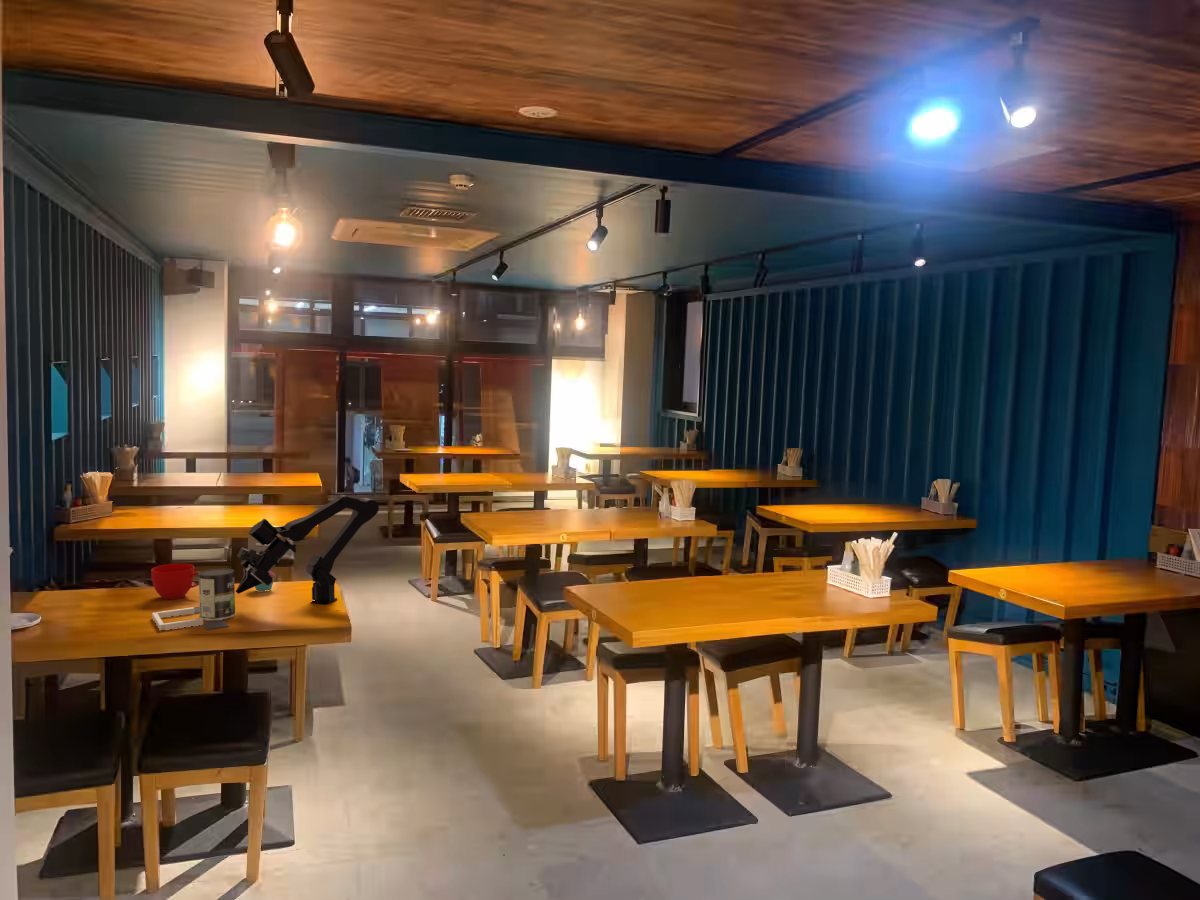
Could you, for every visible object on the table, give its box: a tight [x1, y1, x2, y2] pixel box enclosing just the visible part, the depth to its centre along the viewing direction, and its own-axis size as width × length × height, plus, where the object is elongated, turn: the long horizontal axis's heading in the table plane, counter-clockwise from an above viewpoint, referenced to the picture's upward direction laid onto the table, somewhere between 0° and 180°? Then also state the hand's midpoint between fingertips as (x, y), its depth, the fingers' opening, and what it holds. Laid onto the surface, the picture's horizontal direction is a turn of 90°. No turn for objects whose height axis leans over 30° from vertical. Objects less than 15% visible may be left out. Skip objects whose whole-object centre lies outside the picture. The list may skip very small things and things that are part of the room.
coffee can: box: [197, 567, 236, 622], centre depth 269 cm, size 10×10×14 cm
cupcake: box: [254, 570, 277, 591], centre depth 301 cm, size 9×8×12 cm
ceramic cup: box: [150, 563, 201, 600], centre depth 291 cm, size 13×17×10 cm
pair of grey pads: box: [193, 606, 230, 631], centre depth 269 cm, size 6×27×1 cm, turn 35°
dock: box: [151, 606, 204, 631], centre depth 264 cm, size 12×15×2 cm
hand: (236, 592), depth 273 cm, fingers closed
